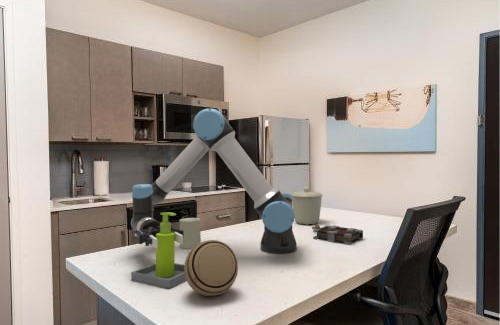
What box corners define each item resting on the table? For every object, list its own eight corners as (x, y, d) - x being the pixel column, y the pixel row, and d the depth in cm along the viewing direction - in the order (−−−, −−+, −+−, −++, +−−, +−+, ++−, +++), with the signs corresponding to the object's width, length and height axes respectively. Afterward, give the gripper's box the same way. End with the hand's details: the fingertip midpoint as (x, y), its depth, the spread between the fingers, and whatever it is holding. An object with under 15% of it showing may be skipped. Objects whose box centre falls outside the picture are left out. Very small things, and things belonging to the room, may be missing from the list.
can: (196, 249, 145) (196, 220, 145) (176, 248, 147) (175, 220, 147) (204, 243, 154) (203, 216, 154) (184, 243, 156) (184, 216, 156)
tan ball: (174, 300, 93) (173, 245, 93) (201, 281, 107) (200, 233, 107) (224, 308, 88) (223, 249, 87) (246, 287, 102) (245, 236, 101)
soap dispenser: (167, 278, 107) (167, 214, 108) (151, 275, 110) (152, 212, 111) (180, 274, 112) (180, 212, 113) (165, 271, 115) (165, 211, 116)
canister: (326, 226, 189) (325, 187, 188) (292, 226, 189) (292, 188, 189) (319, 220, 207) (319, 185, 206) (289, 220, 207) (289, 185, 207)
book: (349, 246, 148) (349, 234, 148) (300, 237, 165) (300, 227, 165) (363, 239, 159) (363, 228, 159) (316, 232, 176) (316, 222, 176)
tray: (197, 274, 113) (197, 267, 113) (169, 289, 101) (169, 280, 101) (162, 267, 121) (161, 260, 121) (131, 280, 109) (131, 272, 109)
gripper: (176, 235, 131) (200, 249, 112) (120, 243, 121) (135, 259, 101) (176, 216, 131) (199, 226, 112) (120, 221, 121) (135, 233, 101)
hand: (169, 241), depth 107 cm, fingers open, 7 cm apart
